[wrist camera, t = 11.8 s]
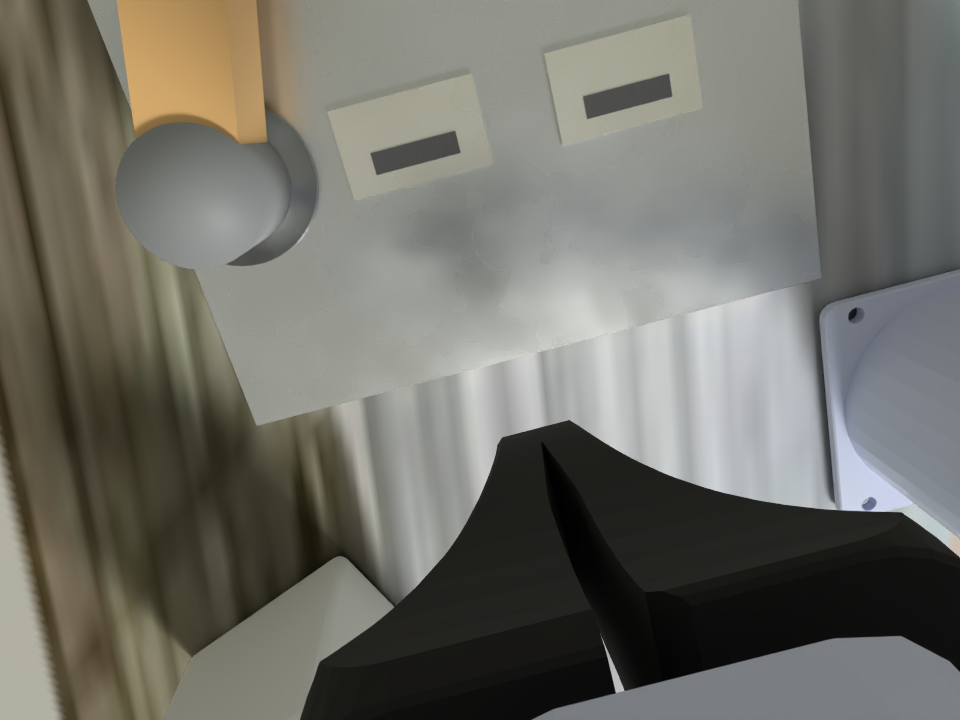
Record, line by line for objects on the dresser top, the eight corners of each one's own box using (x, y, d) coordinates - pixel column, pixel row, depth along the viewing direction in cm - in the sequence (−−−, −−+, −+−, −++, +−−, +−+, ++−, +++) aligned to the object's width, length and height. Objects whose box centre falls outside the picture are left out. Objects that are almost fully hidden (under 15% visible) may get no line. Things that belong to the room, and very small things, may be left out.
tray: (762, -265, 17) (782, -288, 16) (811, 274, 22) (828, 280, 21) (60, -72, 17) (38, -83, 16) (255, 419, 22) (247, 432, 21)
